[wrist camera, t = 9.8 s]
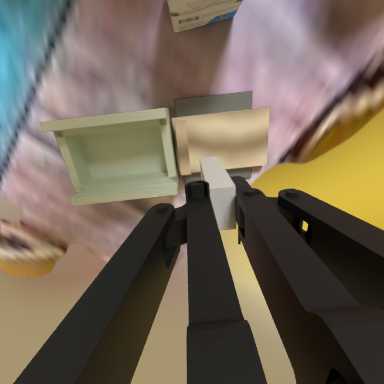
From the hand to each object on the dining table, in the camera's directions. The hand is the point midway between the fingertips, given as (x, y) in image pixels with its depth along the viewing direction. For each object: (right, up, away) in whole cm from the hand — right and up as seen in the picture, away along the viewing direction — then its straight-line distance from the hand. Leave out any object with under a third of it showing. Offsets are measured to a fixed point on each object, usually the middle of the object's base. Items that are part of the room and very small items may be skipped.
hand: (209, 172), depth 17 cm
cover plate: (+3, +7, +16) cm, 18 cm away
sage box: (-12, +5, +17) cm, 21 cm away
